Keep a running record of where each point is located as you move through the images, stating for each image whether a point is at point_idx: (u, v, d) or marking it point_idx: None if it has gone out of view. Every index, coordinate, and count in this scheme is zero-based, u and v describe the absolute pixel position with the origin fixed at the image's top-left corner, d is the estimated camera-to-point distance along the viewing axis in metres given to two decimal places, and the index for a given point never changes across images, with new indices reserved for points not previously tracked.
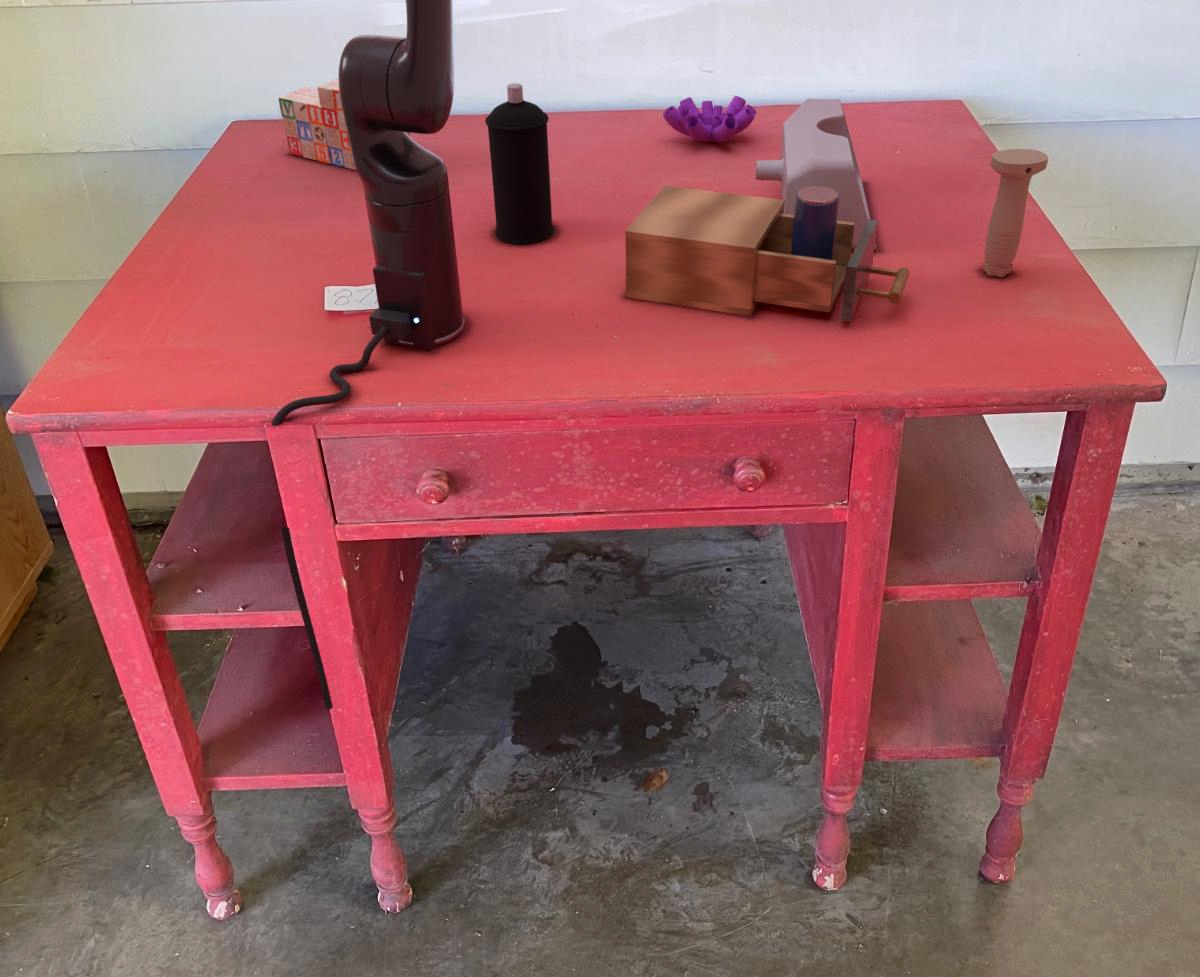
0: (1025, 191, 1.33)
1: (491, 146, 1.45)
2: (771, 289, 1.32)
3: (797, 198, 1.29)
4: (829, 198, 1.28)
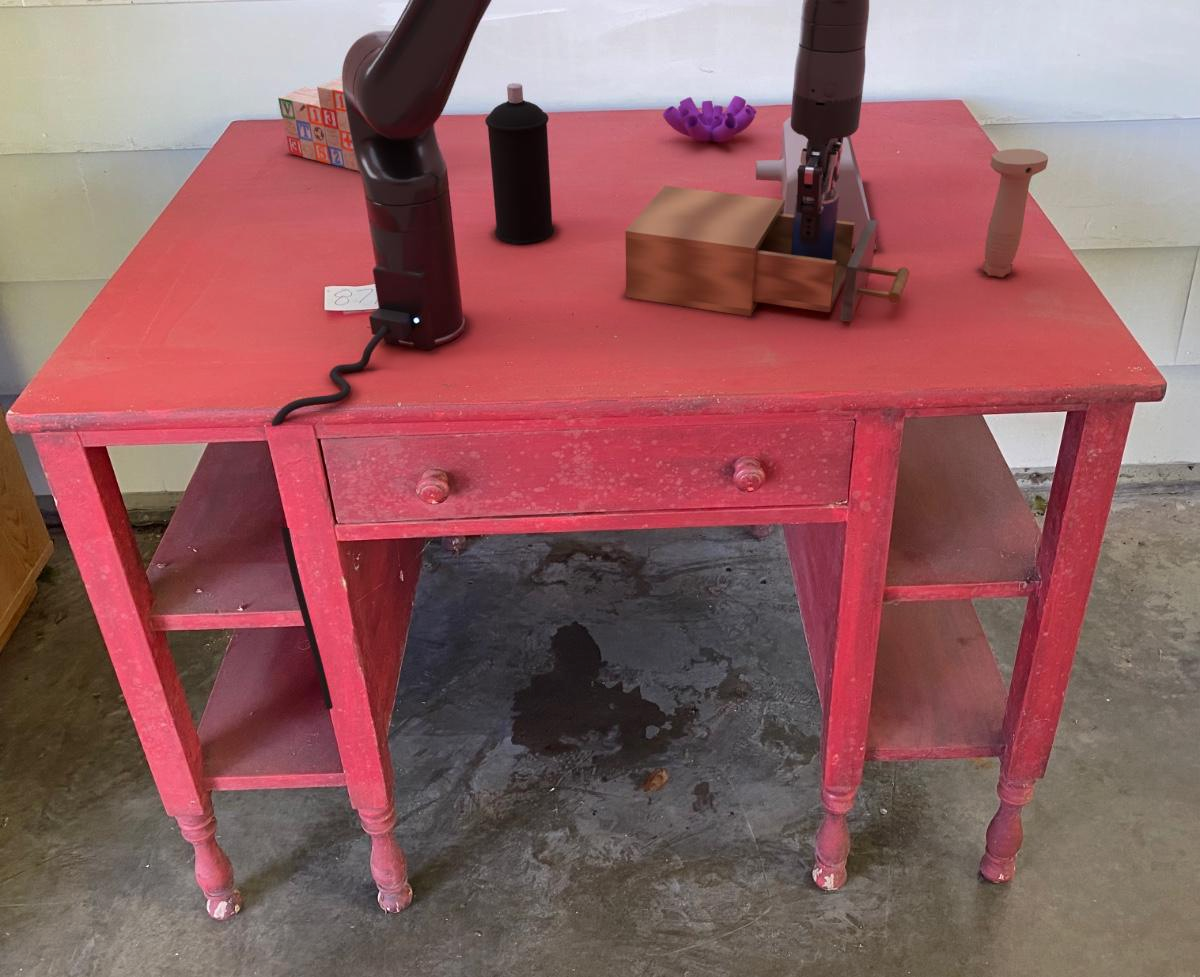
0: (1025, 191, 1.33)
1: (491, 146, 1.45)
2: (771, 289, 1.32)
3: None
4: (829, 198, 1.28)
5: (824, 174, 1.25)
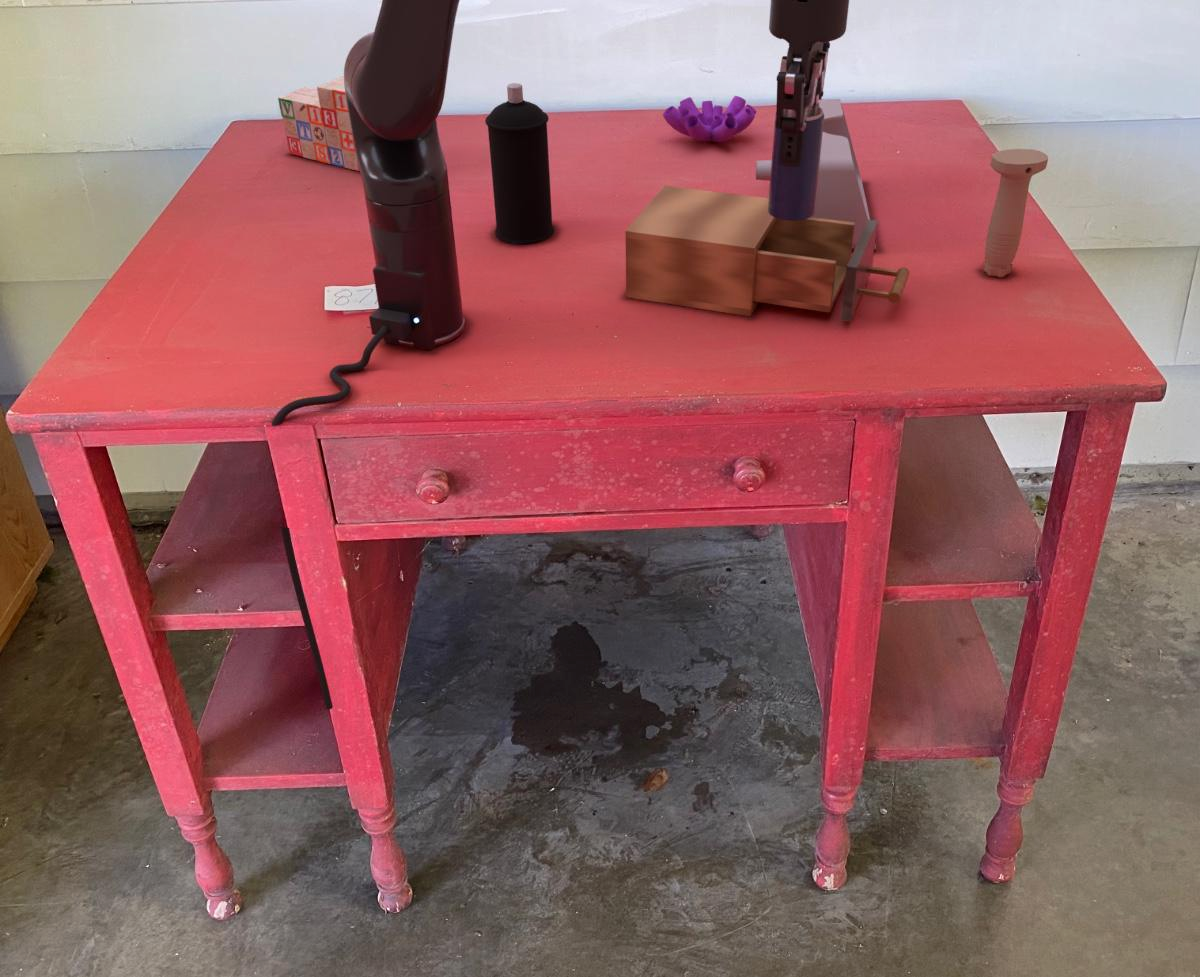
0: (1025, 191, 1.33)
1: (491, 146, 1.45)
2: (771, 289, 1.32)
3: None
4: (813, 114, 1.14)
5: (807, 85, 1.11)
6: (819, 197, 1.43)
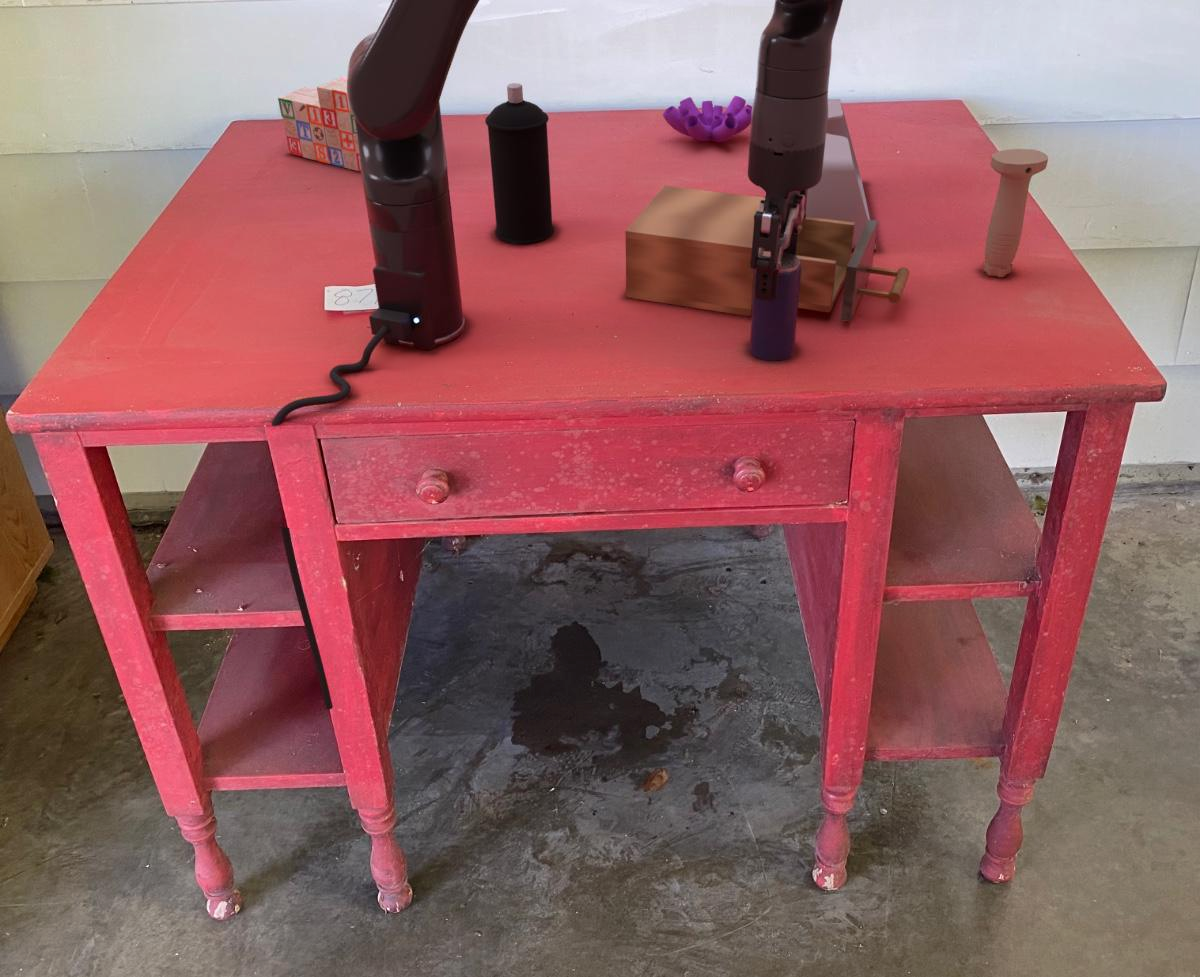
0: (1025, 191, 1.33)
1: (491, 146, 1.45)
2: None
3: None
4: (790, 266, 1.19)
5: (784, 228, 1.15)
6: (819, 197, 1.43)
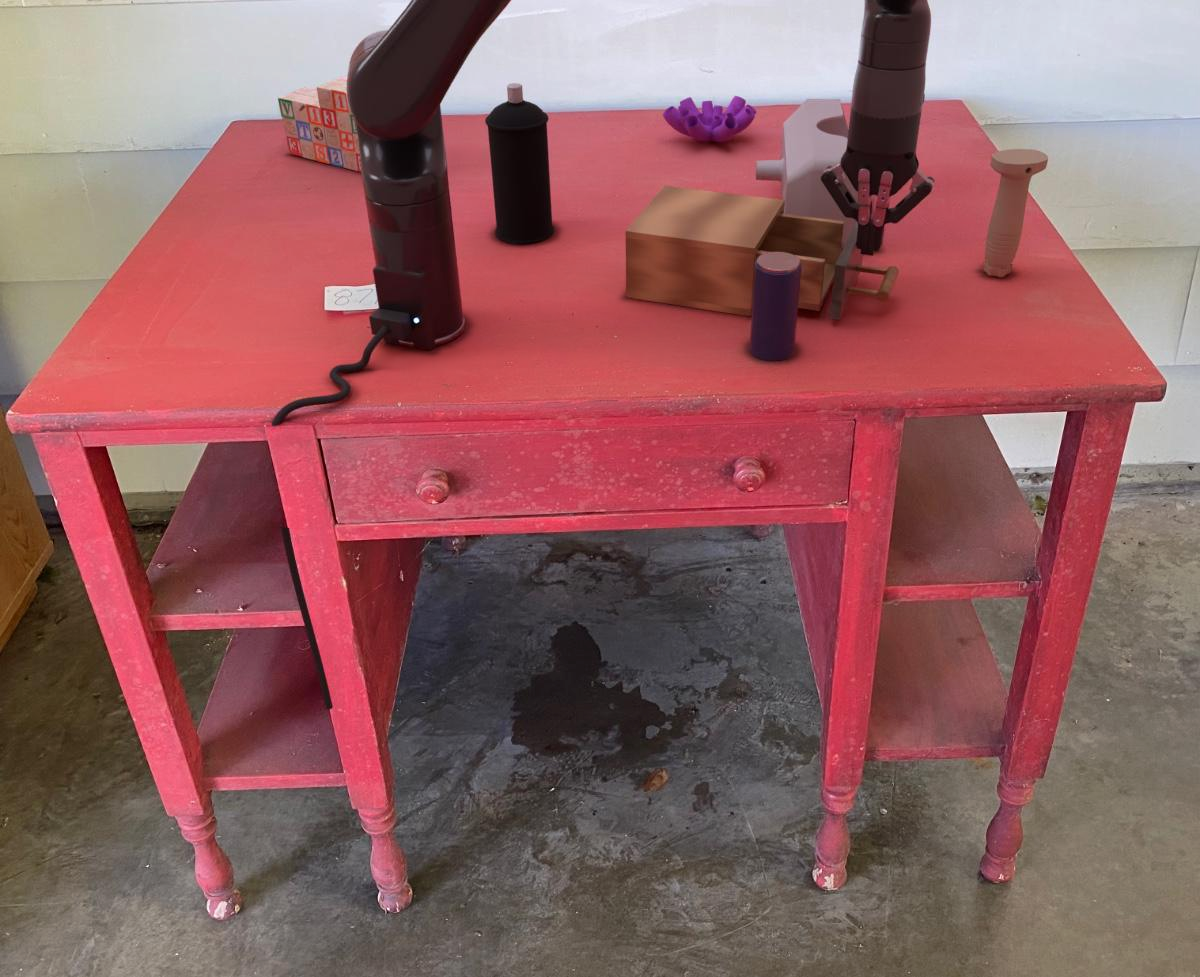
0: (1025, 191, 1.33)
1: (491, 146, 1.45)
2: None
3: (756, 265, 1.20)
4: (790, 266, 1.19)
5: None
6: (819, 197, 1.43)
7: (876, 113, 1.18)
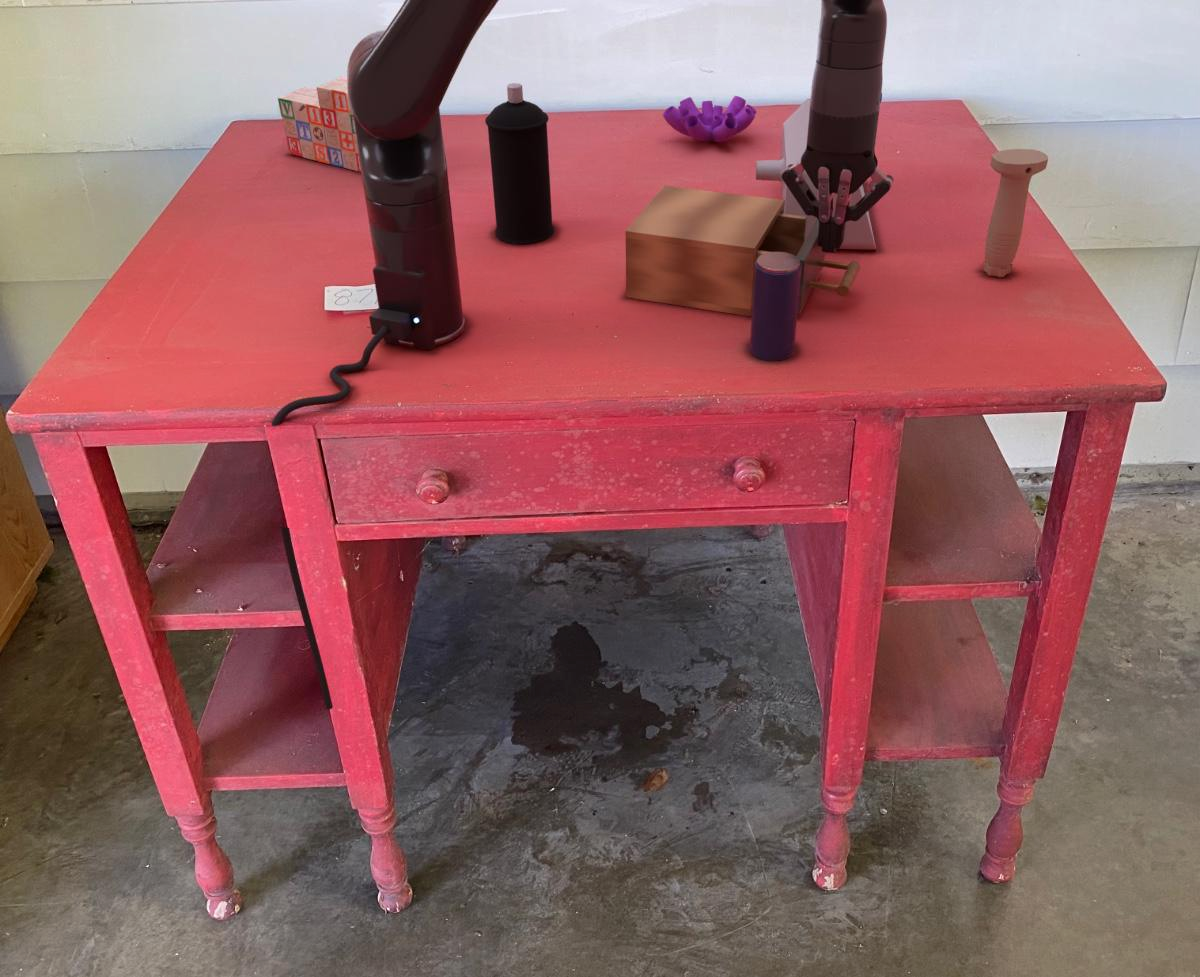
0: (1025, 191, 1.33)
1: (491, 146, 1.45)
2: None
3: (756, 265, 1.20)
4: (790, 266, 1.19)
5: None
6: None
7: (834, 112, 1.20)
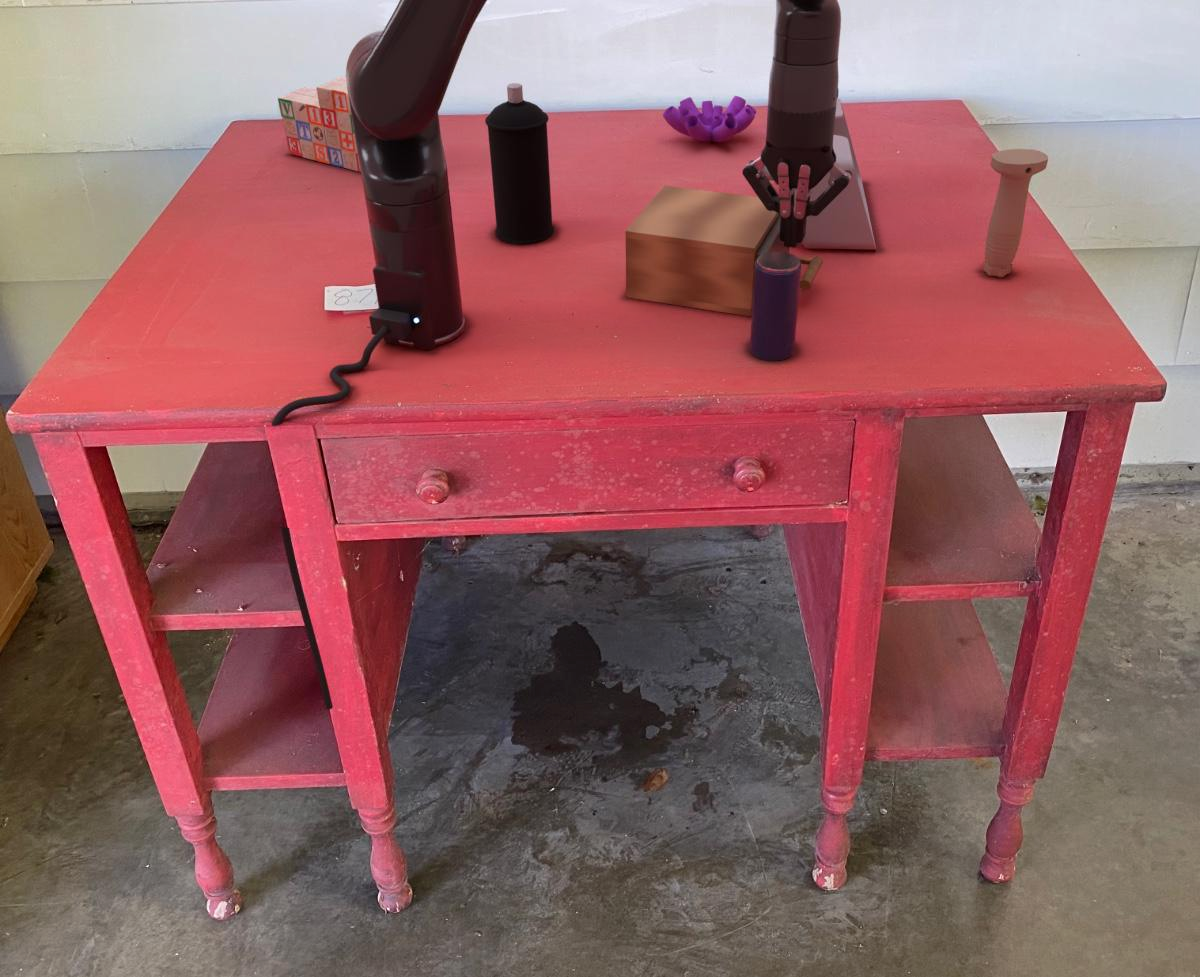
0: (1025, 191, 1.33)
1: (491, 146, 1.45)
2: None
3: (756, 265, 1.20)
4: (790, 266, 1.19)
5: None
6: None
7: (790, 108, 1.21)
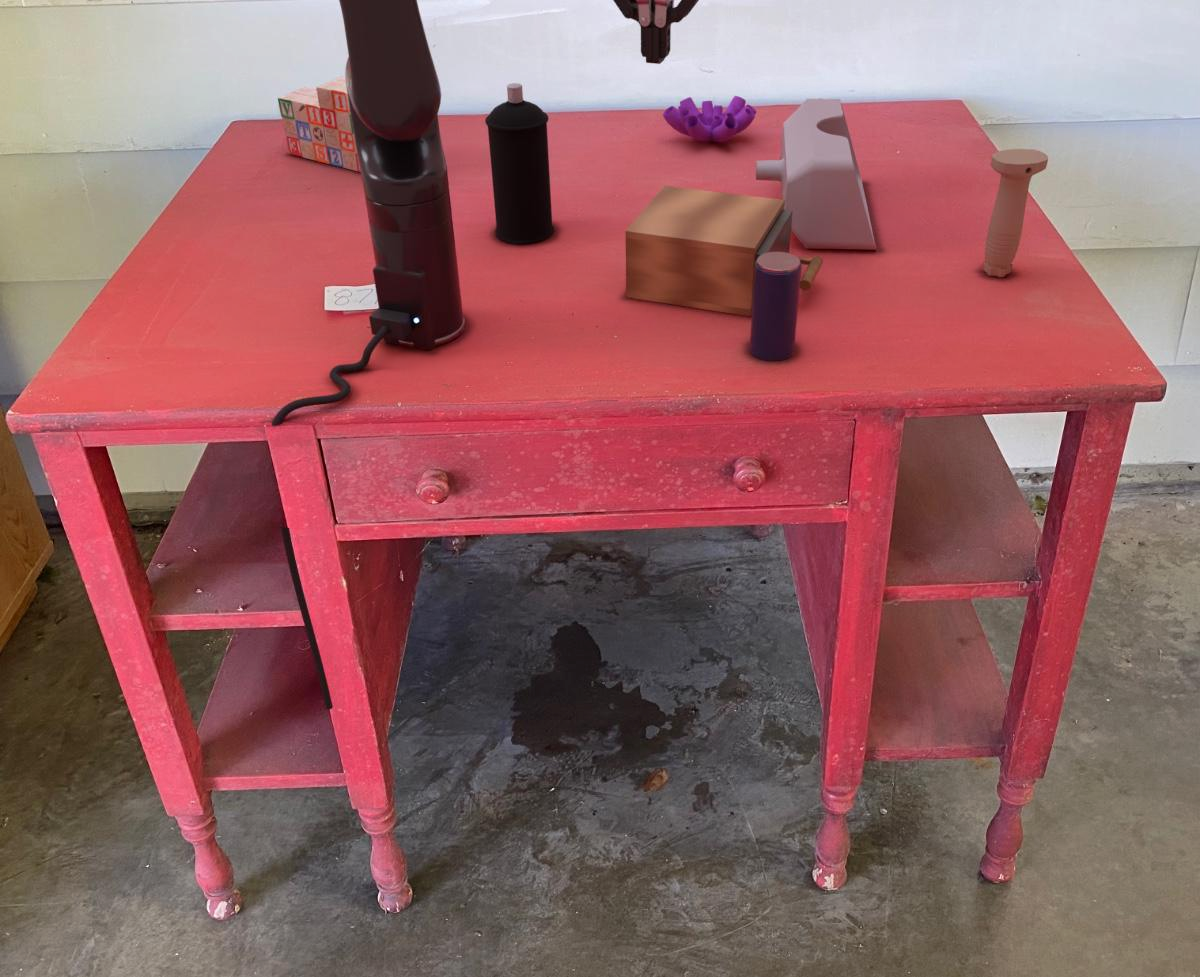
0: (1025, 191, 1.33)
1: (491, 146, 1.45)
2: None
3: (756, 265, 1.20)
4: (790, 266, 1.19)
5: None
6: (819, 197, 1.43)
7: None
